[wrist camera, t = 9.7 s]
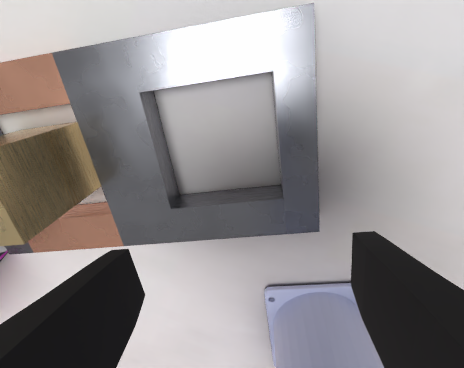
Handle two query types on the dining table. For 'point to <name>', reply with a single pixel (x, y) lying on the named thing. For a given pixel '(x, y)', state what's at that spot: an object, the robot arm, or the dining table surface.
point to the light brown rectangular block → (41, 179)
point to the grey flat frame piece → (152, 136)
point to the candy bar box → (2, 251)
